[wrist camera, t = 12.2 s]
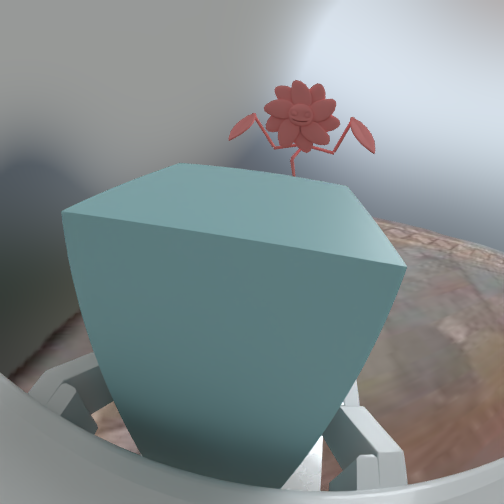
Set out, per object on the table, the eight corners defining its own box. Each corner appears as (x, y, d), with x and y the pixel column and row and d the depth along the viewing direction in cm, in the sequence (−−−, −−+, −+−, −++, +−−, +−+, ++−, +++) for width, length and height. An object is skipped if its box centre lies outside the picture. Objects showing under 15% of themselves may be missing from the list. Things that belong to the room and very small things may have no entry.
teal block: (272, 436, 14) (347, 186, 8) (260, 510, 9) (407, 266, 3) (189, 418, 14) (179, 163, 8) (163, 488, 10) (61, 210, 4)
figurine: (228, 242, 63) (241, 81, 47) (343, 266, 58) (376, 99, 42) (200, 276, 50) (210, 68, 34) (344, 309, 45) (393, 89, 29)
